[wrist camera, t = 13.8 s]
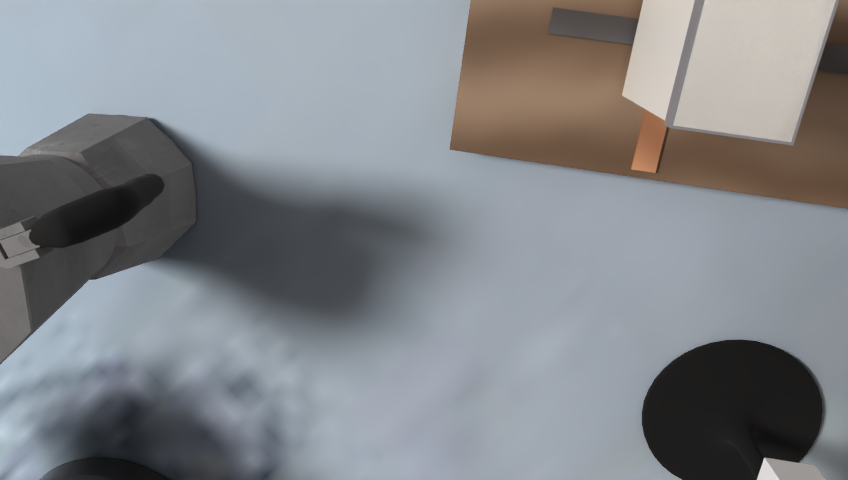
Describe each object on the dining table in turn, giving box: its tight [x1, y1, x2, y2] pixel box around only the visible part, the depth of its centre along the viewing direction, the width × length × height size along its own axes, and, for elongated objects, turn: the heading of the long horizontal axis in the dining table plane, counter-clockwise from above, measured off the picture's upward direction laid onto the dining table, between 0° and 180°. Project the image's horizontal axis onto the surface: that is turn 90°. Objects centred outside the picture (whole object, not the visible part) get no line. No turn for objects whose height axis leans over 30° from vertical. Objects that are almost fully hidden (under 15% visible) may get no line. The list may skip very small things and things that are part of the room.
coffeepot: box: [0, 114, 196, 364], centre depth 30 cm, size 15×9×18 cm, turn 110°
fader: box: [622, 0, 839, 146], centre depth 26 cm, size 6×4×10 cm
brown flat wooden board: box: [450, 0, 848, 209], centre depth 32 cm, size 14×32×2 cm, turn 83°
